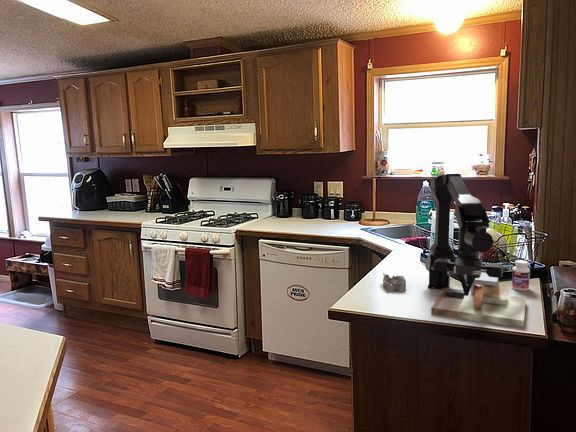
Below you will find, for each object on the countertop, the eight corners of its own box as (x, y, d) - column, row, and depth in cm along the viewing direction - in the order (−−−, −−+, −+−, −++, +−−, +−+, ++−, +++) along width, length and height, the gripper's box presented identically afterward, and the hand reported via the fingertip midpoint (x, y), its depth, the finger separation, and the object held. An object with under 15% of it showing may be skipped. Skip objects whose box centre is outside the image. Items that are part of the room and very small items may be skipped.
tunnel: (467, 300, 145) (468, 278, 144) (471, 292, 153) (472, 271, 152) (495, 304, 141) (496, 281, 140) (497, 295, 149) (498, 274, 148)
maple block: (482, 301, 144) (483, 287, 144) (484, 296, 148) (484, 283, 148) (498, 302, 142) (499, 288, 142) (499, 298, 146) (500, 284, 146)
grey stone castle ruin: (382, 282, 173) (382, 272, 173) (402, 282, 172) (402, 272, 172) (385, 291, 163) (385, 280, 162) (407, 291, 162) (407, 280, 161)
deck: (431, 313, 140) (431, 307, 140) (443, 293, 159) (443, 287, 158) (523, 327, 129) (523, 320, 128) (525, 303, 147) (525, 297, 147)
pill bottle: (511, 290, 160) (513, 262, 159) (511, 285, 165) (512, 259, 164) (529, 291, 158) (530, 264, 157) (528, 287, 163) (529, 260, 161)
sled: (472, 309, 137) (473, 286, 135) (478, 293, 150) (479, 272, 149) (503, 313, 133) (504, 289, 132) (506, 297, 146) (507, 275, 145)
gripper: (430, 247, 133) (428, 299, 135) (501, 253, 124) (498, 308, 127) (437, 239, 143) (436, 288, 145) (504, 244, 134) (501, 296, 136)
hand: (466, 295), depth 138 cm, fingers closed
